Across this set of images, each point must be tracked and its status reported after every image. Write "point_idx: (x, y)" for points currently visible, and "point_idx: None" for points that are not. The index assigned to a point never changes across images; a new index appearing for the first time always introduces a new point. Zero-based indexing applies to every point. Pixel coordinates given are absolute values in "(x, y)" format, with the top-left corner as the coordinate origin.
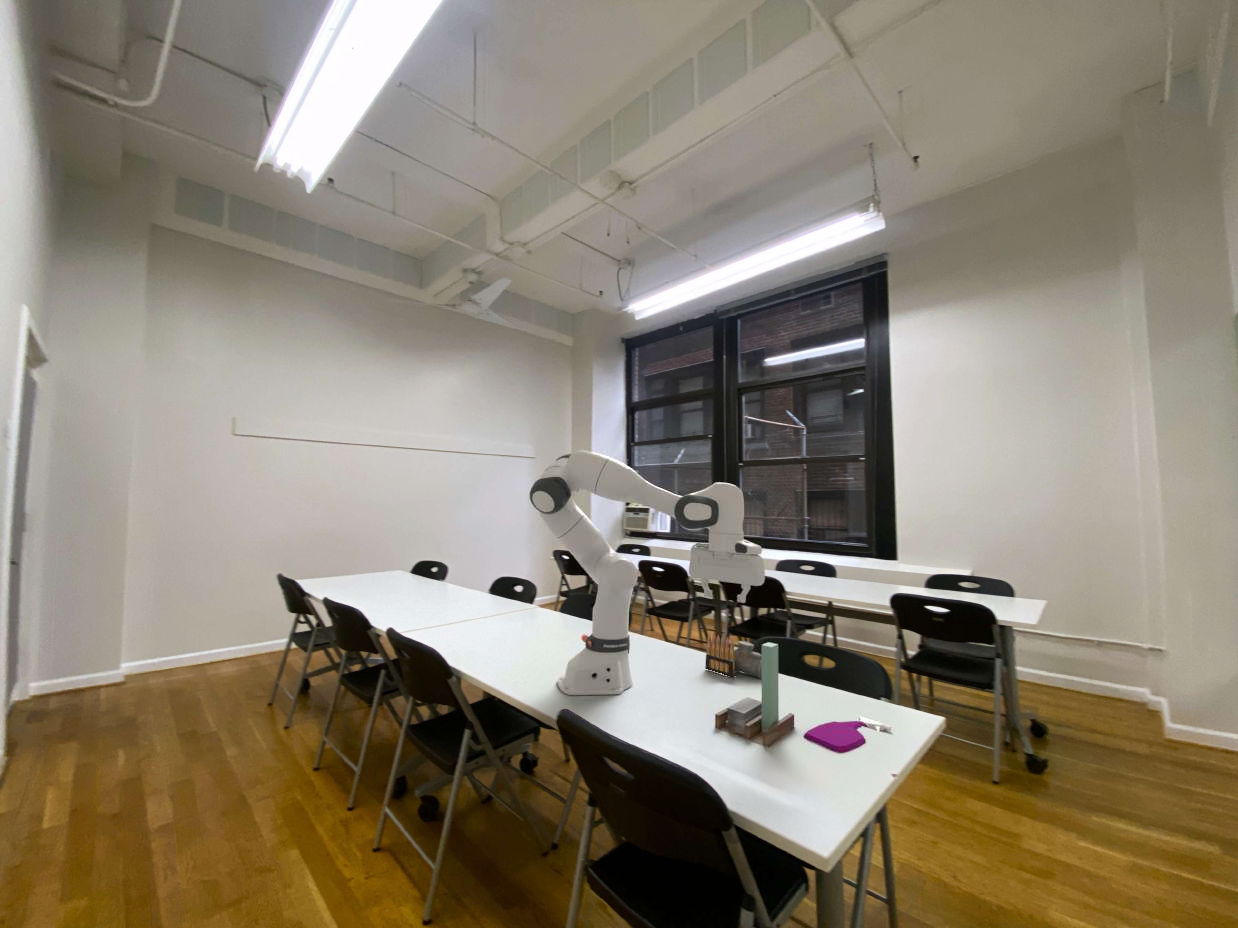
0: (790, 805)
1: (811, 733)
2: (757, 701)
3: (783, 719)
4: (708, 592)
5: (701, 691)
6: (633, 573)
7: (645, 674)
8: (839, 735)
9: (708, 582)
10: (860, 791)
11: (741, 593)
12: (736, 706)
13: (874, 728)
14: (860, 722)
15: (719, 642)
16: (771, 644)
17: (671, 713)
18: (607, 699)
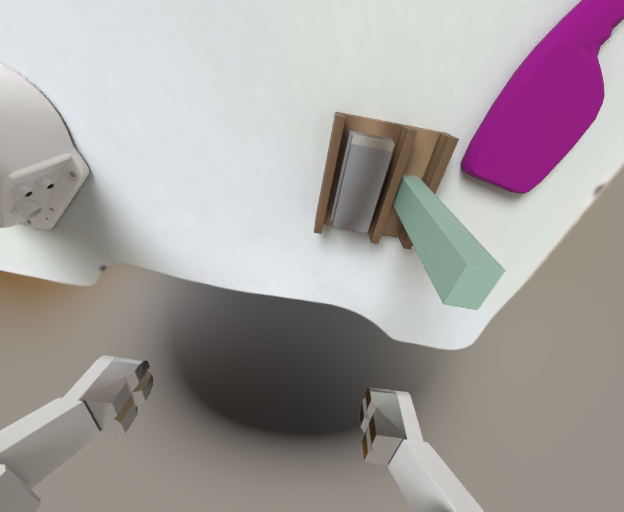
0: (437, 314)
1: (483, 166)
2: (378, 157)
3: (435, 182)
4: (130, 419)
5: (181, 7)
6: None
7: None
8: (543, 137)
9: (8, 478)
10: (524, 257)
11: (400, 484)
12: (345, 210)
13: None
14: None
15: None
16: (478, 284)
17: (218, 189)
18: (100, 203)
